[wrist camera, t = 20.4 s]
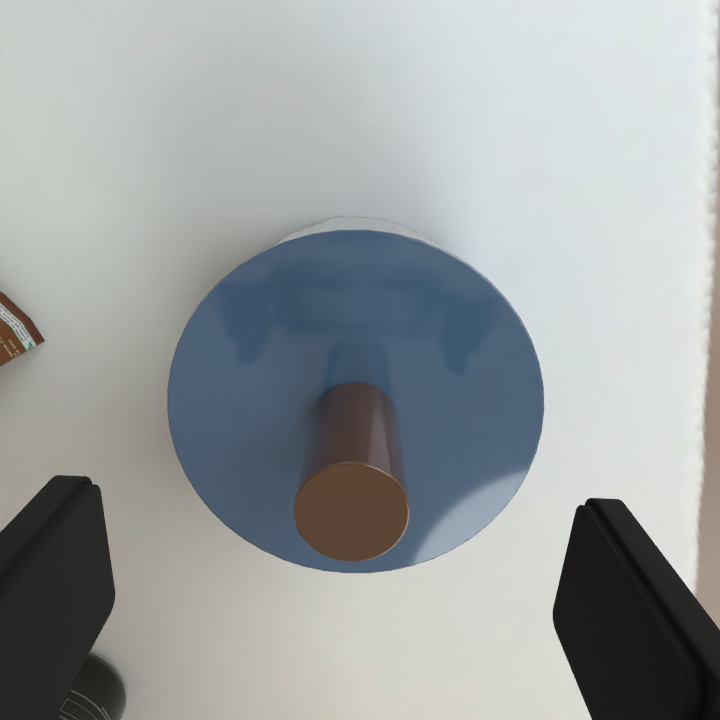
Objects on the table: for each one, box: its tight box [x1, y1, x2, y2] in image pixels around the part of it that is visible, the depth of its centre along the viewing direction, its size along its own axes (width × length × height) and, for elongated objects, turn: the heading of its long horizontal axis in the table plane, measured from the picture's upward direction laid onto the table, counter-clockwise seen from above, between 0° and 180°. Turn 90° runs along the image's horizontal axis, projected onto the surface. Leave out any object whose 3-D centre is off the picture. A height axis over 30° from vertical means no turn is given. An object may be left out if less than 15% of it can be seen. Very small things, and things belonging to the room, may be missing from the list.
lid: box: [168, 228, 544, 573], centre depth 16 cm, size 12×12×6 cm
